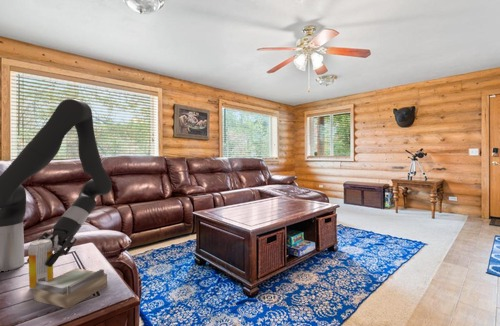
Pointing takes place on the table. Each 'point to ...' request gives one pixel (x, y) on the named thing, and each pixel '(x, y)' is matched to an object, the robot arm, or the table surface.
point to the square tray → (70, 287)
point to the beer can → (39, 261)
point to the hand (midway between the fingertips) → (38, 264)
